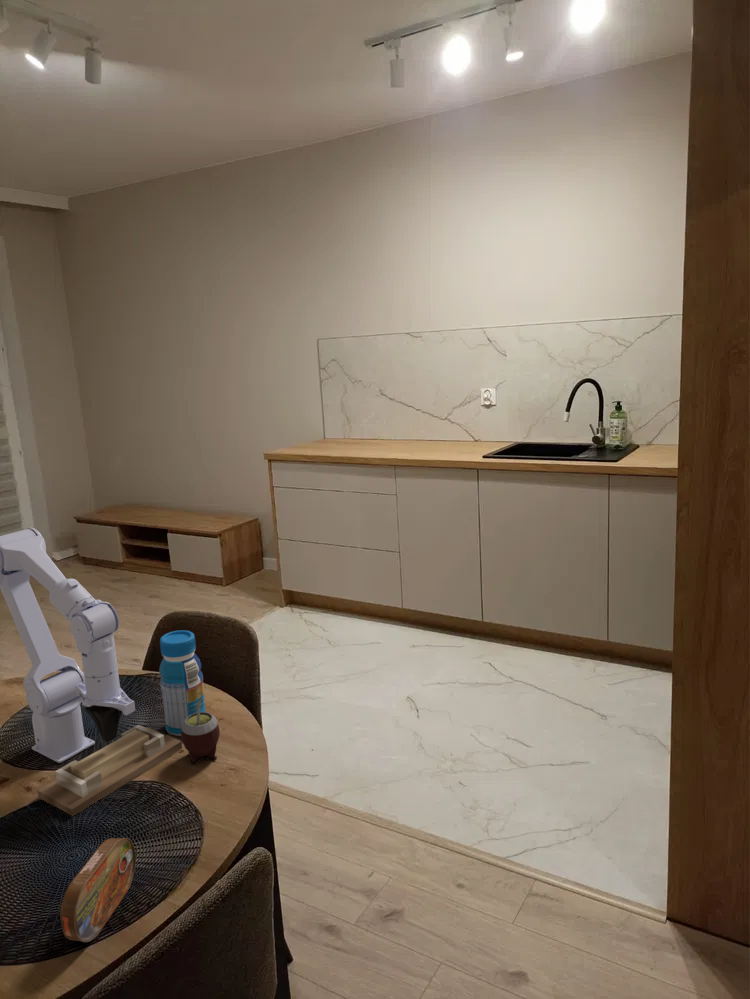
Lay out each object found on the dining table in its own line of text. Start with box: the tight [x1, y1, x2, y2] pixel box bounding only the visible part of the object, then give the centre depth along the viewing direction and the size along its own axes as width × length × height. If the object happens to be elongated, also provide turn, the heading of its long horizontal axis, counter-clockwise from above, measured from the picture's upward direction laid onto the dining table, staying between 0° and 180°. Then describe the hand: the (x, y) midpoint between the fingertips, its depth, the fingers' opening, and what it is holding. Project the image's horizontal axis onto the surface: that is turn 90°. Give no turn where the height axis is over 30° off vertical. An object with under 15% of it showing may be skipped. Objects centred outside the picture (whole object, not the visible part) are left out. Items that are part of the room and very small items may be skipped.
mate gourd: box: [180, 698, 221, 766], centre depth 137 cm, size 8×8×15 cm
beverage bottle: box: [158, 629, 206, 737], centre depth 147 cm, size 8×8×20 cm
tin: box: [59, 837, 137, 943], centre depth 102 cm, size 15×3×8 cm, turn 168°
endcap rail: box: [37, 724, 183, 817], centre depth 135 cm, size 10×24×4 cm, turn 146°
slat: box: [71, 730, 149, 780], centre depth 134 cm, size 4×14×3 cm, turn 146°
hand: (109, 738), depth 134 cm, fingers closed
